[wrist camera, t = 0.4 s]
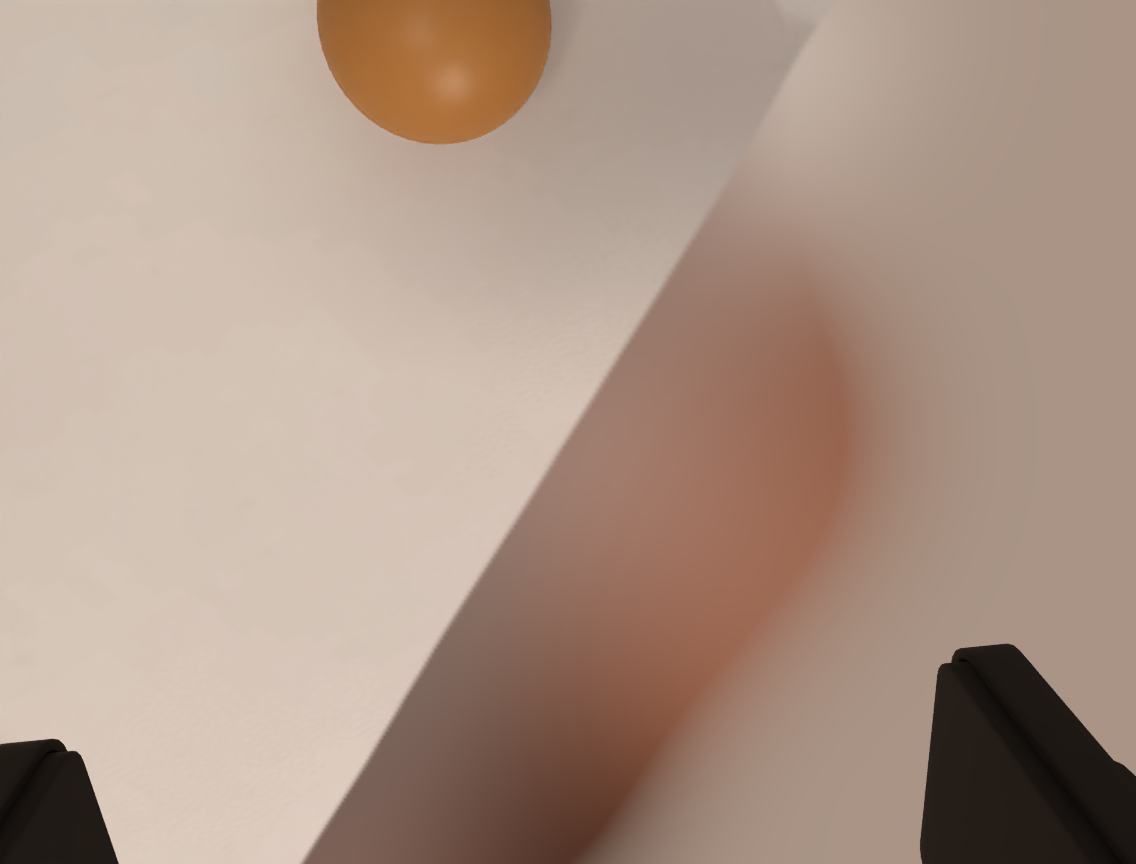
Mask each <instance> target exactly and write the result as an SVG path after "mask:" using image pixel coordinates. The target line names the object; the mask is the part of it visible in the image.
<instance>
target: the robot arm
mask: <svg viewBox="0 0 1136 864" xmlns="http://www.w3.org/2000/svg"><path fill="white" fill-rule="evenodd" d="M930 743H931V744H930V752H929V761H928V772H927V782H926V791H925V801H924V811H923V820H922V830H921V839H920V852H921V859H922V864H1136V776H1135V775H1134V774H1133V773H1132V772H1131V771H1129V770H1128V769H1127V768H1126V767H1125V766H1124V765H1122V764H1120V763H1118V762H1116V761H1114V760H1113V759H1112V758H1111V757H1110V756H1109V755H1108V754H1107V752H1106V751H1105V750H1104V749H1103V748H1102V747H1101V745H1100V744H1099V743H1098V742H1097V741H1096V740H1095V738H1094V737H1093V736H1092V735H1091V733H1090V732H1089V731H1088V730H1087V729H1086V728H1085V727H1084V725H1083V724H1082V723H1081V722H1080V721H1079V720H1078V718H1077V717H1076V716H1075V715H1074V714H1073V712H1072V711H1071V710H1070V709H1069V708H1068V707H1067V705H1066V704H1065V703H1064V702H1063V701H1062V700H1061V698H1060V697H1059V696H1058V695H1057V694H1056V692H1055V691H1054V690H1053V689H1052V688H1051V687H1050V685H1049V684H1048V683H1047V682H1046V681H1045V680H1044V679H1043V677H1042V676H1041V675H1040V674H1039V672H1038V671H1037V670H1036V669H1035V668H1034V667H1033V665H1032V664H1031V663H1030V662H1029V661H1028V660H1027V659H1026V657H1025V656H1024V655H1023V654H1022V653H1021V651H1019V650H1018V649H1017V648H1016V647H1015V646H1014V645H1010V644H999V645H989V646H979V647H969V648H960V649H958V650H956V651H955V653H954V655H953V657H952V662H951V663H945V664H942V665H941V666H940V668H939V670H938V675H937V684H936V694H935V703H934V714H933V723H932V732H931V742H930ZM0 864H119V863H118V860H117V858H116V855H115V852H114V849H113V846H112V843H111V840H110V837H109V834H108V831H107V828H106V825H105V822H104V820H103V817H102V814H101V811H100V808H99V805H98V802H97V799H96V796H95V793H94V790H93V787H92V784H91V782H90V779H89V776H88V773H87V770H86V767H85V764H84V761H83V759H82V757H81V755H80V754H79V753H78V752H76V751H67V750H66V748H65V746H64V744H63V743H62V742H61V741H59V740H56V739H46V740H36V741H26V742H16V743H6V744H0Z"/></svg>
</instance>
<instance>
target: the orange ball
mask: <svg viewBox="0 0 1136 864" xmlns="http://www.w3.org/2000/svg"><path fill="white" fill-rule="evenodd" d="M317 23H318V32H319V37H320V42H321V46H322V50H323V53H324V56H325V58H326V61H327V64H328V66H329V69H330V70H331V72H332V74H333V76H334V78H335V80H336V82H337V83H338V85H339V86H340V88H341V89H342V91H343V92H344V94H345V95H346V96H347V98H348V99H349V100H350V101H351V102H352V103H353V105H354V106H355V107H356V108H357V109H358V110H359V111H361V112H362V113H363V114H364V115H365V116H366V117H367V118H368V119H370V120H371V121H373V122H374V123H375V124H377V125H378V126H380V127H381V128H383V129H385V130H387V131H389V132H391V133H393V134H395V135H398V136H400V137H403V138H405V139H408V140H412V141H417V142H421V143H429V144H453V143H459V142H465V141H468V140H472V139H475V138H478V137H481V136H483V135H485V134H487V133H489V132H491V131H493V130H495V129H496V128H498V127H499V126H501V125H502V124H504V123H505V122H506V121H507V120H509V119H510V118H511V117H512V116H513V115H514V114H515V113H517V111H518V110H519V109H520V108H521V107H522V106H523V105H524V103H525V102H526V101H527V100H528V98H529V97H530V95H531V94H532V92H533V91H534V89H535V87H536V85H537V83H538V81H539V79H540V77H541V75H542V72H543V69H544V67H545V64H546V61H547V57H548V52H549V47H550V40H551V9H550V2H549V0H317Z"/></svg>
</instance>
